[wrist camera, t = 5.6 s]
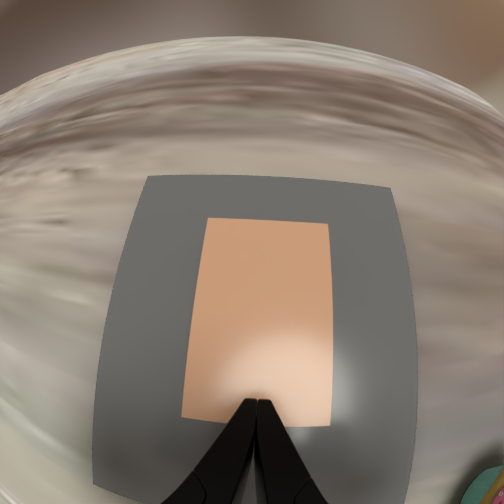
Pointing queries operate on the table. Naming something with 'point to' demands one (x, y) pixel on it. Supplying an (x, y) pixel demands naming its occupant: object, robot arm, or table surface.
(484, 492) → the cupcake
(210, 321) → the tile
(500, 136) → the table surface
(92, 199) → the table surface
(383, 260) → the board
